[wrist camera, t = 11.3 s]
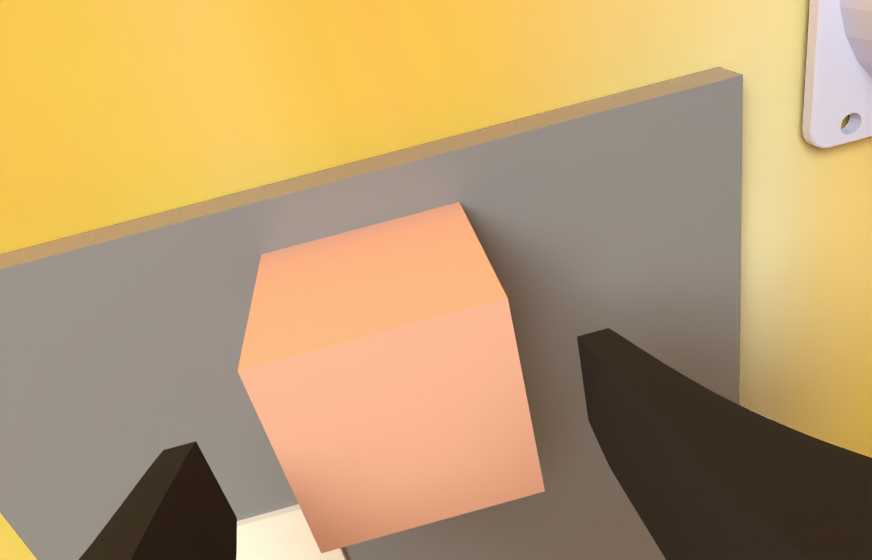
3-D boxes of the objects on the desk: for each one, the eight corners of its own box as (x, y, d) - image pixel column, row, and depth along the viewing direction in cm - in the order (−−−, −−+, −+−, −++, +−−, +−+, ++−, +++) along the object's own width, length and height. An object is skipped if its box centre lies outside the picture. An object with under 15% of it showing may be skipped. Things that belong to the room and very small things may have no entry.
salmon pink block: (459, 202, 15) (507, 298, 11) (494, 362, 17) (544, 491, 13) (261, 254, 15) (237, 370, 11) (322, 409, 17) (321, 553, 13)
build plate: (718, 66, 15) (747, 76, 14) (721, 579, 24) (739, 608, 23) (-130, 288, 15) (-165, 315, 14) (198, 728, 24) (192, 764, 23)
